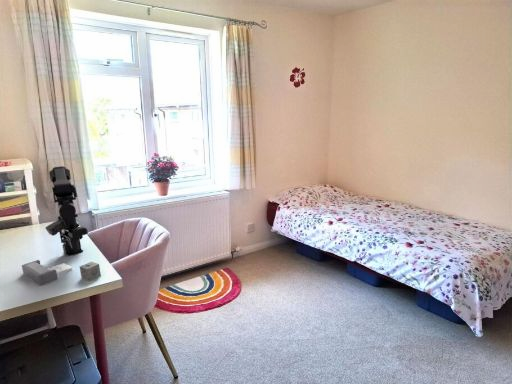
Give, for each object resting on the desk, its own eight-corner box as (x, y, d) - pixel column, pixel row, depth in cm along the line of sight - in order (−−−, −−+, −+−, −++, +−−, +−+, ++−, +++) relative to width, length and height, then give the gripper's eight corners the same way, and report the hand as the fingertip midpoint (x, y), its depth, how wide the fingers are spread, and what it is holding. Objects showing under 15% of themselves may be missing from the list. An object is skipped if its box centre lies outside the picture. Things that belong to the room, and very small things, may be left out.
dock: (40, 268, 144) (38, 259, 143) (57, 279, 133) (56, 270, 132) (23, 274, 139) (21, 265, 138) (40, 286, 129) (38, 276, 128)
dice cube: (81, 278, 134) (79, 266, 133) (93, 273, 138) (91, 261, 137) (89, 281, 131) (87, 269, 130) (100, 275, 135) (99, 264, 134)
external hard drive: (31, 277, 137) (64, 266, 147) (39, 283, 132) (72, 270, 142) (30, 273, 137) (63, 262, 146) (38, 279, 132) (72, 267, 141)
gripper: (36, 214, 141) (43, 250, 145) (56, 221, 130) (63, 259, 133) (65, 208, 150) (70, 241, 153) (85, 214, 138) (91, 250, 142)
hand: (73, 248), depth 145 cm, fingers closed
